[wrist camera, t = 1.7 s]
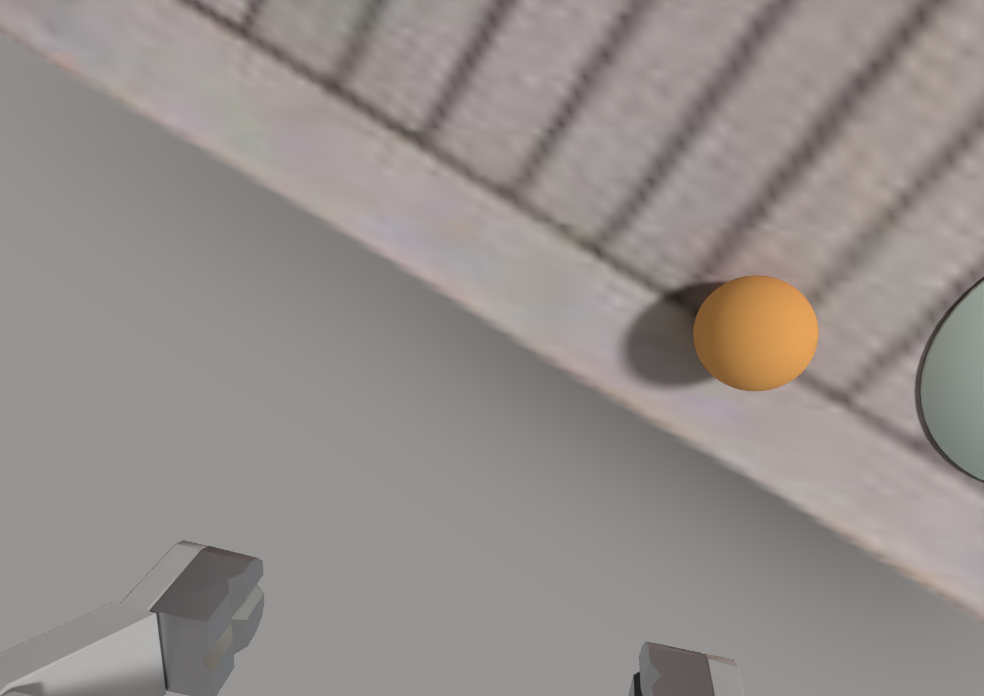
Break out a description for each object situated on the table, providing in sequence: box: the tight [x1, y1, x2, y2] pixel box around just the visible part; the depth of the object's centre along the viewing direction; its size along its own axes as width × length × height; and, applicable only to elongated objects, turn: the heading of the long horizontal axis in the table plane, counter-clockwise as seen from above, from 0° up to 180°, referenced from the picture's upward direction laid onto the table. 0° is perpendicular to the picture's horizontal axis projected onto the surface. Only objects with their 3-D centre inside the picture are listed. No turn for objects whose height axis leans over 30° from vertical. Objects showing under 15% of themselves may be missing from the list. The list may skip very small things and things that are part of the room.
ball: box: [693, 276, 818, 391], centre depth 28 cm, size 5×5×5 cm
